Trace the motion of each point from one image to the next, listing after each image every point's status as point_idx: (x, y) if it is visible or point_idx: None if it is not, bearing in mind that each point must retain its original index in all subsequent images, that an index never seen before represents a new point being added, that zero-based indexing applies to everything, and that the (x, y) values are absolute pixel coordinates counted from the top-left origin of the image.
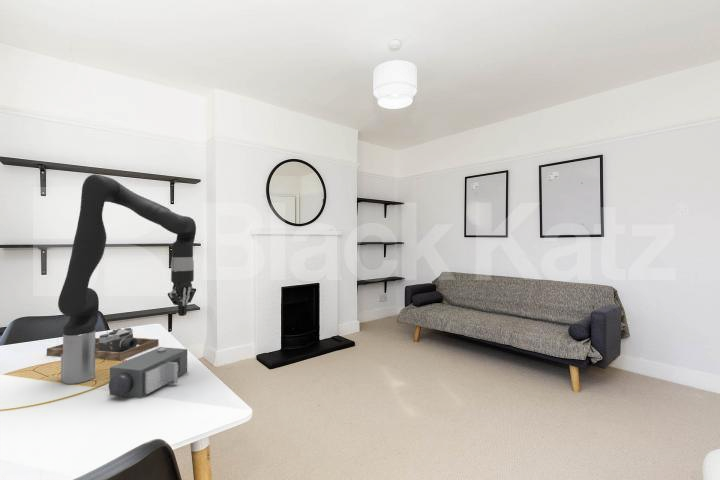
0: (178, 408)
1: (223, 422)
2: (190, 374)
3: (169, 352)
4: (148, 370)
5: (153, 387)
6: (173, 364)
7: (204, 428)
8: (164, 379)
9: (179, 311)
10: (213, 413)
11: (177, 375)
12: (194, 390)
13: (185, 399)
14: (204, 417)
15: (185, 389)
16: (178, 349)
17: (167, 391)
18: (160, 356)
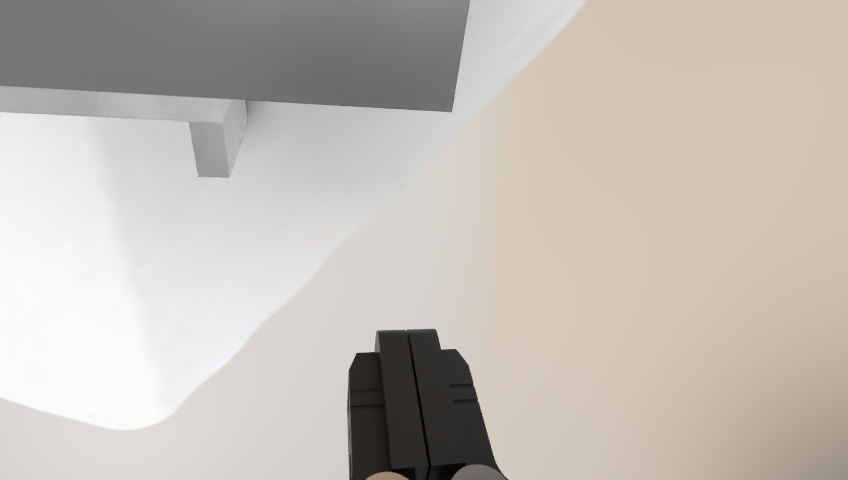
0: (57, 262)
1: (66, 412)
2: None
3: (355, 18)
4: (13, 88)
5: None
6: (198, 167)
7: (6, 393)
8: None
9: (350, 408)
10: (96, 370)
11: (241, 139)
12: (225, 224)
13: (135, 241)
14: (58, 363)
15: (220, 183)
16: (438, 46)
17: None
18: (243, 9)
